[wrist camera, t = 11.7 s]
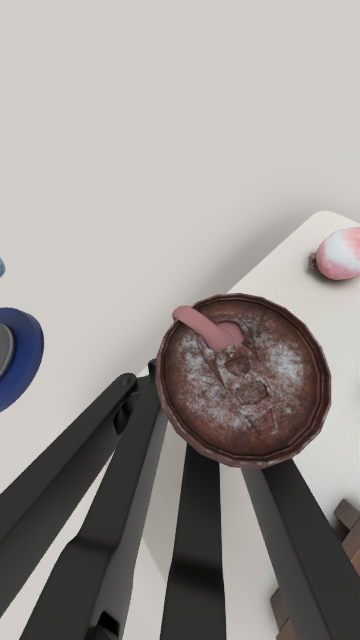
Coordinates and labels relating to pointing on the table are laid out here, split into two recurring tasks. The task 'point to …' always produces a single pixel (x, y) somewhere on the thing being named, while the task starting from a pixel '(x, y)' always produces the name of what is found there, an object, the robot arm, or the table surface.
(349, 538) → the shelf
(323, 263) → the onion
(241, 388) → the can
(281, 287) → the table surface
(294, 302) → the table surface
